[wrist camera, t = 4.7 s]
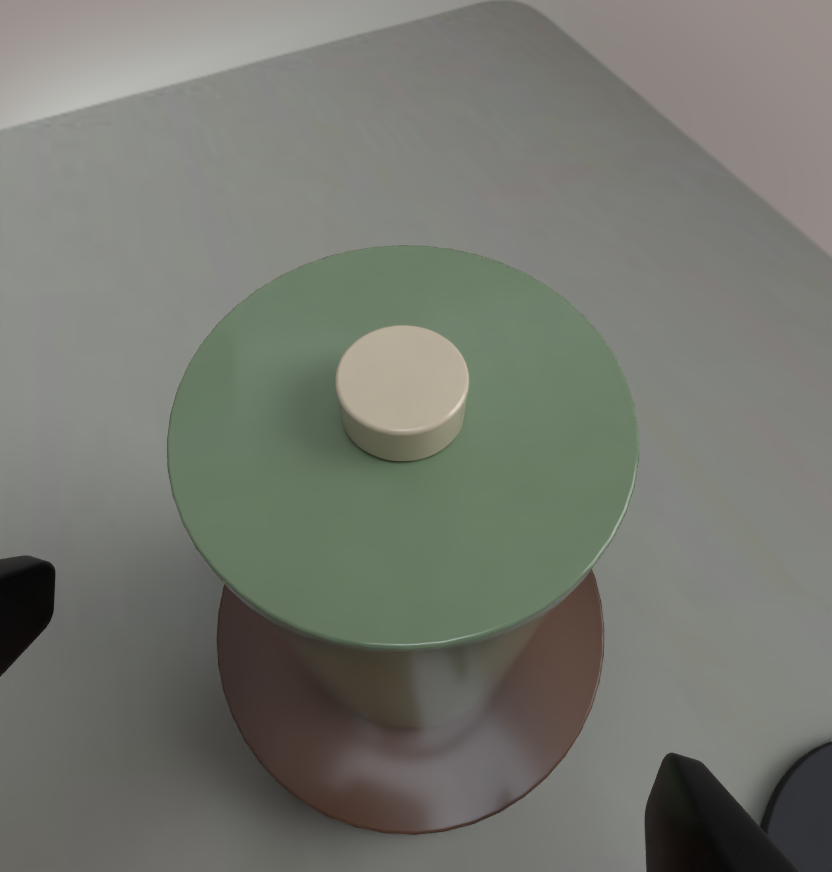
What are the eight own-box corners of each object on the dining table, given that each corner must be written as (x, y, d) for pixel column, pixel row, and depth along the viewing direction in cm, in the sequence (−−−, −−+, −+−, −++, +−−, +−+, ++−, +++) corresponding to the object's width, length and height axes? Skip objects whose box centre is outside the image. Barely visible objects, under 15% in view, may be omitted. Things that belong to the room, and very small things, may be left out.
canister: (340, 783, 16) (219, 744, 6) (263, 550, 19) (102, 281, 9) (572, 670, 17) (773, 492, 7) (464, 470, 20) (506, 162, 11)
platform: (299, 913, 16) (284, 925, 14) (196, 540, 21) (176, 516, 19) (660, 722, 18) (686, 714, 16) (487, 427, 23) (493, 397, 22)
